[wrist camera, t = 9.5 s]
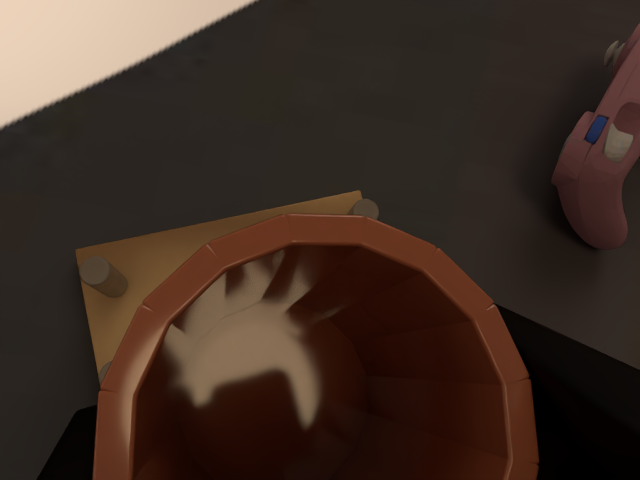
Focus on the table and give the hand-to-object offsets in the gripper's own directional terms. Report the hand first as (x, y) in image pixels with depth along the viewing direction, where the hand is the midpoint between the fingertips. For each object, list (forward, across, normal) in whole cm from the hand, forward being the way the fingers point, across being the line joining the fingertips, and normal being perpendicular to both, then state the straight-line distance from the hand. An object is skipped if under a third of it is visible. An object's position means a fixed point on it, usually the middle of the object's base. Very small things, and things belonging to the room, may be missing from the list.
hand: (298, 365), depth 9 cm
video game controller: (+14, -19, +6) cm, 24 cm away
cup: (+4, 0, +5) cm, 7 cm away
